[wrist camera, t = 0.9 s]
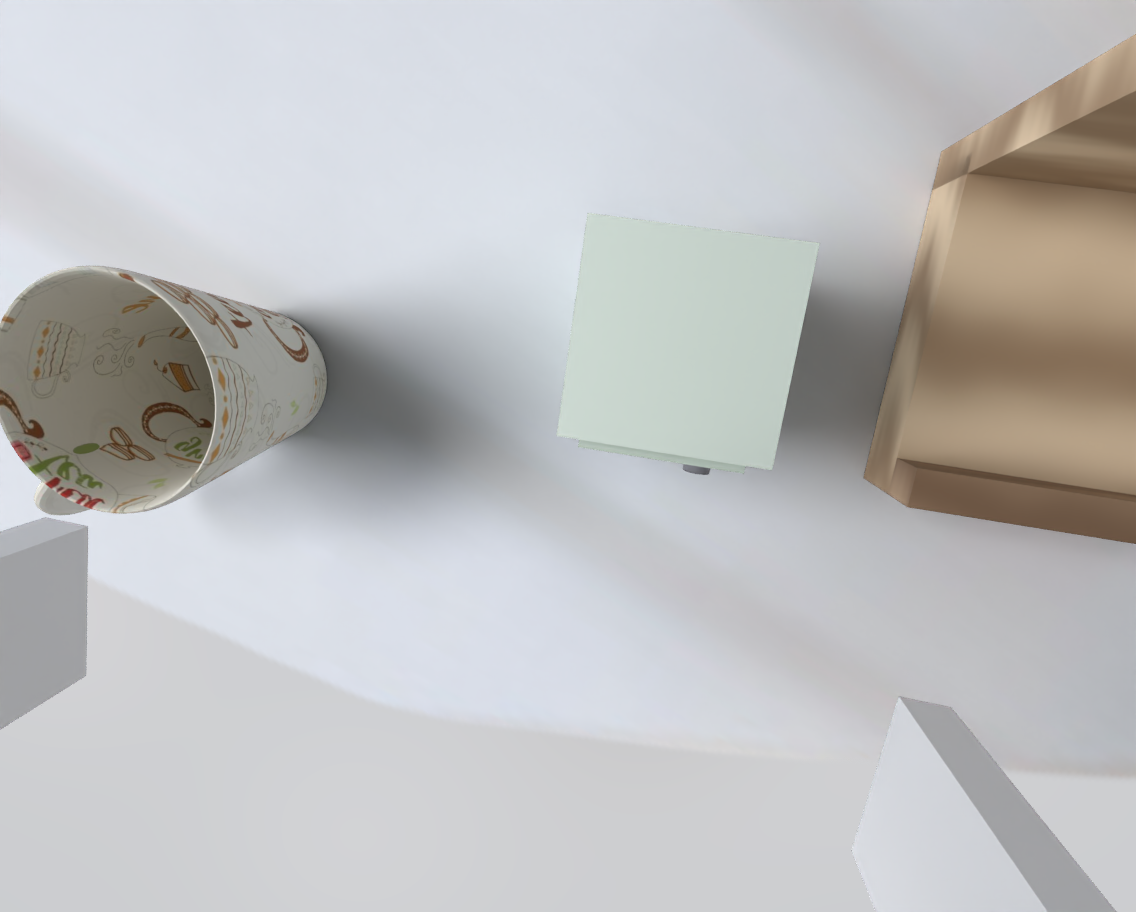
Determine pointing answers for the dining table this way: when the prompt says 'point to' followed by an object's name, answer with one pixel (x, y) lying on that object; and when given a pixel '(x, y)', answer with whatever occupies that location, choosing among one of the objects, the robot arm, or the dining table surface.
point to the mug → (145, 387)
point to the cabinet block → (684, 342)
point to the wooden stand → (1025, 320)
